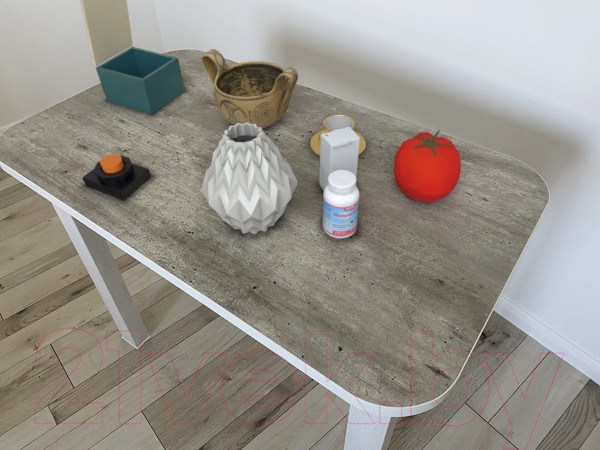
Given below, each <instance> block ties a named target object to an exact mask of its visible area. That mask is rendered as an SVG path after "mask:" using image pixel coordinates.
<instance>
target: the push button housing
mask: <svg viewBox="0 0 600 450" xmlns="http://www.w3.org/2000/svg"><path fill="white" fill-rule="evenodd" d="M119 155H120V154H119ZM120 156H121V158H122V161H123V164H124V167H123V169H121V170H120V171H118V172H115V173H105V172H104V171H103V169H102V166H101V164H100V161H98V162H96V164H95V166H94V168H92V170H90V171H89V172H87V173H86V174H85V175H83V176H82V177H81V178H82V180H83V183H84V185H85V187H87V188H90V189H92V190H95V191H97V192H100V193H103V194H105V195H108V196H110V197H112V198H116V199H118V200H120V201H123V202H124V201H125V200H127V199H128V198H129V197H130V196H131V195H133V194H134V193H135V192H136V191H137V190H138V189H139V188H141V187H142V186H143V185H144V184H145V183H147V182H148V181H149V180H150V179H151V178H152V176H151V172H150V169H149V168H147V167H145V166H141V165H138V164H136V163H133V162H132V160H131V159H130V158H129V157H128V156H126V155H125V156H124V155H122V154H121V155H120Z"/></svg>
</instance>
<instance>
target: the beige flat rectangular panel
mask: <svg viewBox="0 0 600 450" xmlns="http://www.w3.org/2000/svg"><path fill="white" fill-rule="evenodd" d="M79 3H80V7H81V8H80V9H81V12H82V17H83V22H84V27H85V31H86V35H87V41H88V45H89V50H90V55H91V59H92V64H93V66H94V67H98V66H99V65H101V64H103V63H105V62H106V61H108V60H110V59H112V58H113V57H115V56H117V55H119V54H120V53H122V52H124V51H126V50H127V49H129V48H131V47H133V44H134V43H133V36H132V30H131V23H130V16H129V9H128V8H129V7H128V1H127V0H79Z"/></svg>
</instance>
